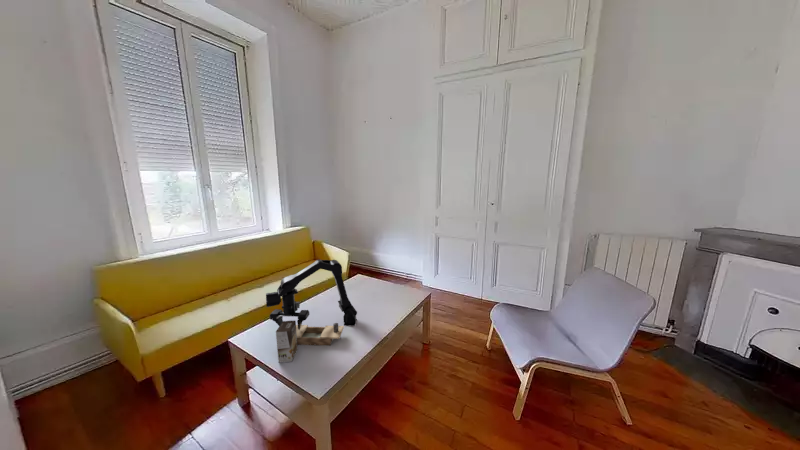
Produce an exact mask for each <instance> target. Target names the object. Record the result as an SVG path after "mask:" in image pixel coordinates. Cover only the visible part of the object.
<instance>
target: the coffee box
mask: <svg viewBox="0 0 800 450" xmlns="http://www.w3.org/2000/svg"><path fill="white" fill-rule="evenodd" d="M296 323H297V320H283V322H282V323H281V325H280V326H279V325H278V328H277V329H276V331H275V337H276V349H277V360H278V363H292V362H293V360H294V358H295V356H296V354H297V351H298V350H299V349H298V345H297V333H296V325H297V324H296Z"/></svg>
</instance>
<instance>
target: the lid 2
mask: <svg viewBox="0 0 800 450" xmlns="http://www.w3.org/2000/svg"><path fill="white" fill-rule="evenodd" d="M344 326H345V325H339V323H338V322H335V323H333V325H325V326H324V327H325V328H324V330H323V332H322V334H321V336H320V338H323V339H333V340H336V339H337V340H340V339H341V336H342V333H343V331H344V328H345V327H344Z"/></svg>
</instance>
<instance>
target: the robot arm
mask: <svg viewBox="0 0 800 450" xmlns="http://www.w3.org/2000/svg"><path fill="white" fill-rule="evenodd" d="M319 270H324V271H328V272H331V274H332V275H333V277H334V281H335V284H336V288H337V291H338V294H339V295H338V296H339V300H337V302H338V307H339V309H340V311H341V312H343V313H344V314H343V326H351V327H352V326H356V324H357V320H358V319H357V315H358V311H357V310H356V308H355V307H354V306H353V305H352V303H351V301H350V299H349V297H348V294H347V291H346V286H345V284H344V279H343V266H342V264H341V263H340V262H339V261H338V260H337V259H331V260H329V259H316V260H315V261H314V262H313V263H311V264H309V265H308V266H306V267H305V268H303V269H301V270H300V271H299V272H296V273H295V274H290V275H288V276H285V277H283V278H282V279H281V280H280V284H279V286H278V288H277V290H276V291H274V292H266V293H265V302H266V304H265V305H266V308H270V307H276V306H279V305H281V303H282V305H281V309H278V308H276V309H275V308H274V310H273V311H272V312H270V314H269V320H270V321H271V320H272V322H275V323H276V325H278V327H279V326H280V325H281V323H282V322H283V321H284V319H283V317H286V318H287V317H295V318H296V317H297V320H296V323H297V325H298V329H299V330H300V328H301V325H303V322H304V321H306V320H307V319H308V317H309V315H310V311H309V310H308V309H307V310H306V309H301V310H300V311H299V312H298V309H300V304H301V302H300V301H295V295H296V294H299V291H298V289H296V287H298V285H299V284H300V283H301V282H302V281H304V280H305V279H306V278H309V277H310V276H311V275H313V274H315V273H316V272H317V271H319Z"/></svg>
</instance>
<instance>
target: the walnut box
mask: <svg viewBox="0 0 800 450" xmlns="http://www.w3.org/2000/svg"><path fill="white" fill-rule="evenodd" d="M324 328H325V326H308V327H307V329H306V330H305V332H304V333H303V335H302V337H301V338H297V346H326V347H328V346H329V347H331V345H332V343H333V341H334V339H323V338H320V336H321V334H322V332H323V330H324Z"/></svg>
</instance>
